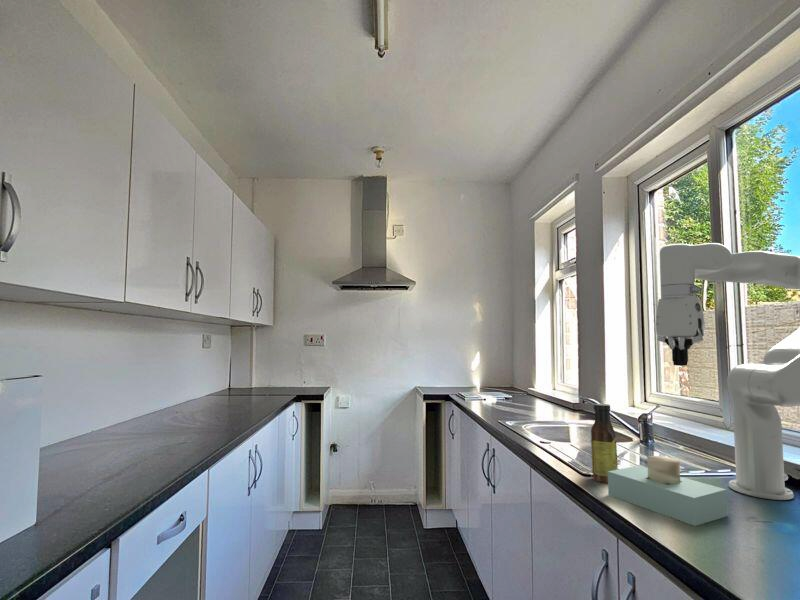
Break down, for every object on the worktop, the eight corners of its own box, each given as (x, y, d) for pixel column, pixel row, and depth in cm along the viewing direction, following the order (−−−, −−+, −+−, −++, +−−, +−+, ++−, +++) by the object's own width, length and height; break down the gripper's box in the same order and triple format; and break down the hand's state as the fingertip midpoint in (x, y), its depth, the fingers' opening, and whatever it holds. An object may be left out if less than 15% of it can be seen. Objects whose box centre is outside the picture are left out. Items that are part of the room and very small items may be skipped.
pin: (659, 495, 107) (658, 454, 108) (687, 505, 101) (685, 461, 102) (642, 500, 104) (641, 457, 105) (669, 509, 98) (668, 464, 99)
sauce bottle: (622, 484, 117) (621, 406, 118) (599, 484, 116) (598, 406, 118) (609, 476, 123) (607, 402, 125) (587, 476, 123) (586, 402, 125)
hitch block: (640, 487, 114) (639, 465, 115) (727, 516, 97) (726, 489, 97) (608, 494, 109) (607, 471, 109) (695, 526, 91) (694, 497, 91)
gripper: (717, 291, 110) (721, 367, 109) (658, 295, 124) (660, 363, 122) (700, 289, 107) (703, 367, 105) (641, 294, 120) (643, 363, 119)
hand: (680, 365), depth 114 cm, fingers closed
